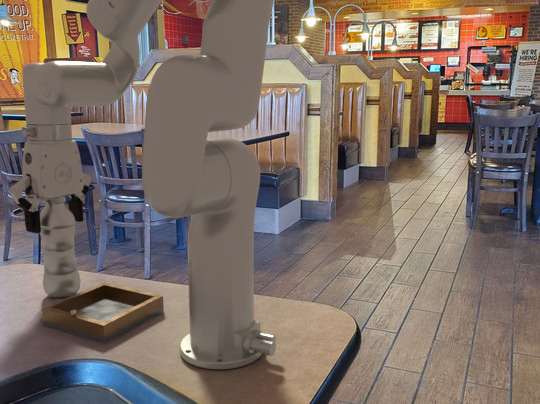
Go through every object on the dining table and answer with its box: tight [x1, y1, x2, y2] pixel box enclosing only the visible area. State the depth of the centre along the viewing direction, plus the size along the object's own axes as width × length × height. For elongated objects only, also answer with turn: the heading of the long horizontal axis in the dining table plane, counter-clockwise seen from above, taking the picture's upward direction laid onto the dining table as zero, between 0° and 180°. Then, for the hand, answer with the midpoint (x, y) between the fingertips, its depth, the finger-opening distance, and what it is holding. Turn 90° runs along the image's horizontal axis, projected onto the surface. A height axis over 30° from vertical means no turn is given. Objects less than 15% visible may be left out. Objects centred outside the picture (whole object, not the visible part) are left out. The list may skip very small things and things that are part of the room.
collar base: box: [41, 282, 164, 345], centre depth 91 cm, size 14×14×4 cm
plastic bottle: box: [39, 196, 82, 298], centre depth 100 cm, size 6×7×20 cm
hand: (55, 226), depth 100 cm, fingers open, 9 cm apart
